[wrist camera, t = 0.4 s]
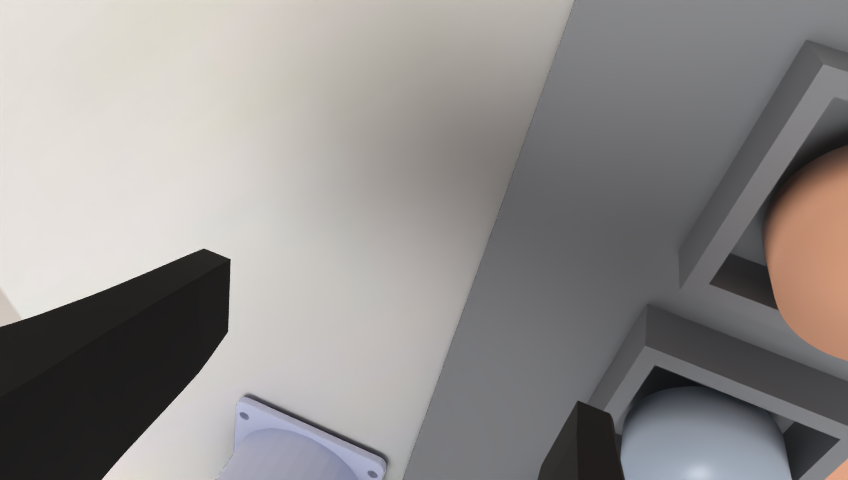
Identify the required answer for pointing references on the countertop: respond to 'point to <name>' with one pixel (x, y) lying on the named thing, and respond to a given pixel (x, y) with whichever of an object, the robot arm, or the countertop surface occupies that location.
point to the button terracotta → (812, 252)
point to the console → (649, 236)
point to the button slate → (701, 438)
